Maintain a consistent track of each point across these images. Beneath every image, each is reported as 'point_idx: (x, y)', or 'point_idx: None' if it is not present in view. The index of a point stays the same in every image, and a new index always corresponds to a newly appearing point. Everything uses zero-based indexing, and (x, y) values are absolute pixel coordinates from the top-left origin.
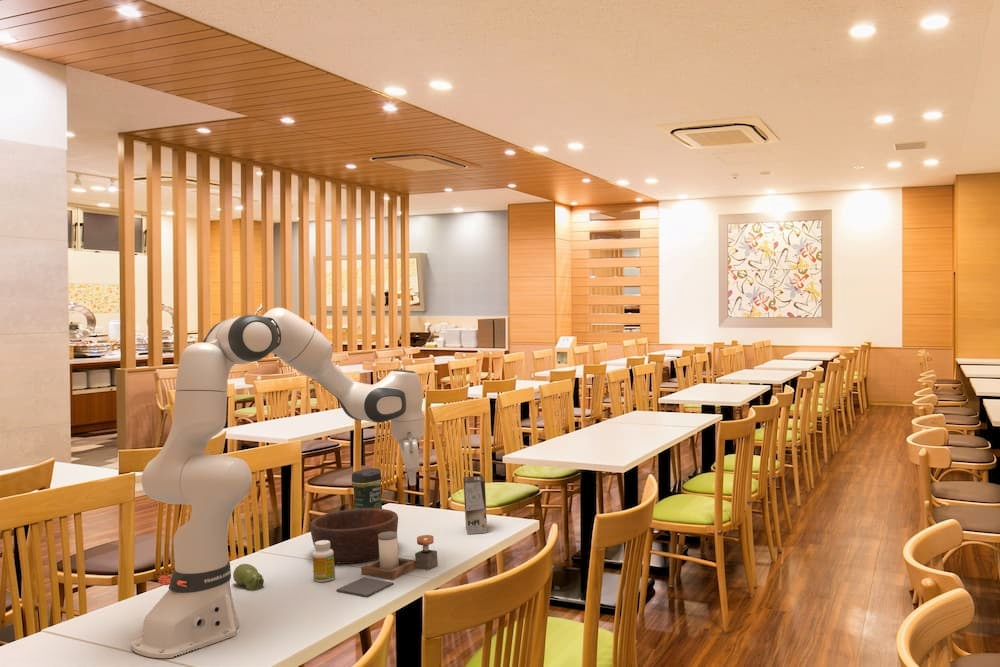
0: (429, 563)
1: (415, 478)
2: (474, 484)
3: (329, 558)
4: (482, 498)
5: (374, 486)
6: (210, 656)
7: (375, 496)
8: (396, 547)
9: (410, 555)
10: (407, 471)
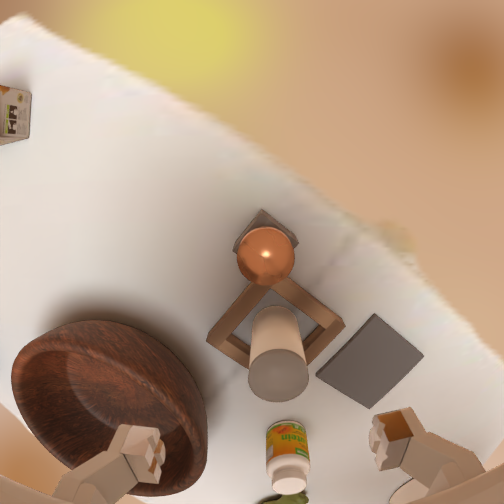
0: (290, 233)
1: (430, 433)
2: None
3: (305, 454)
4: None
5: None
6: (488, 455)
7: None
8: (291, 337)
9: (154, 277)
10: (156, 481)
